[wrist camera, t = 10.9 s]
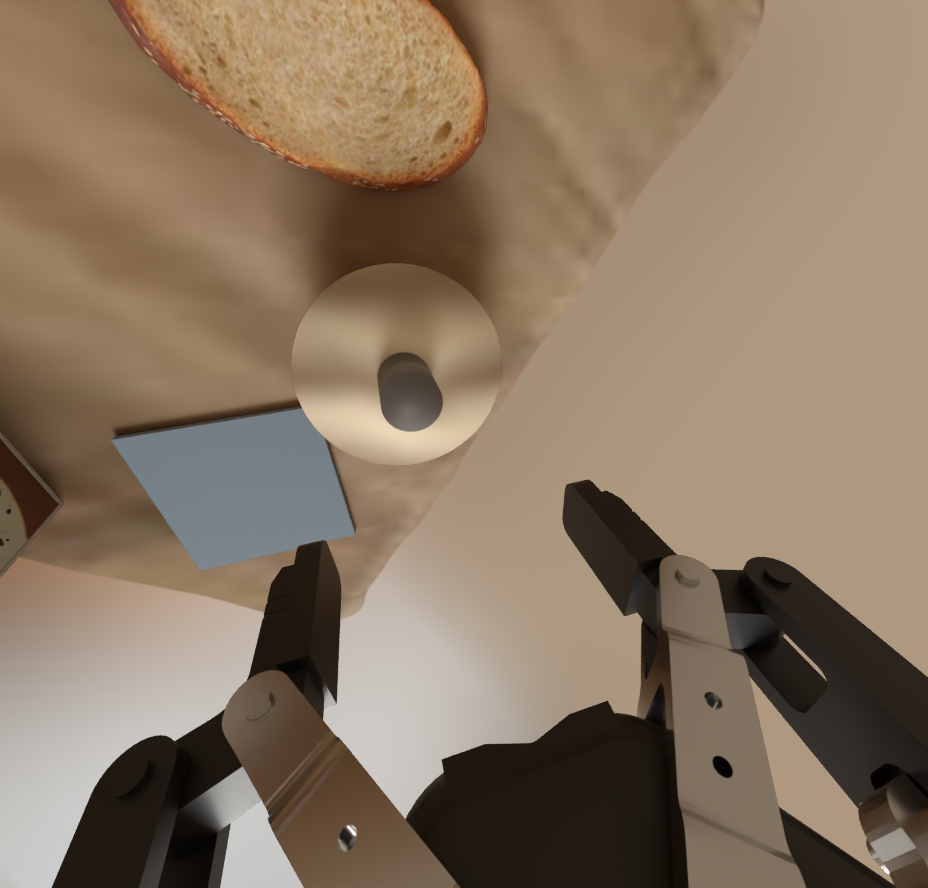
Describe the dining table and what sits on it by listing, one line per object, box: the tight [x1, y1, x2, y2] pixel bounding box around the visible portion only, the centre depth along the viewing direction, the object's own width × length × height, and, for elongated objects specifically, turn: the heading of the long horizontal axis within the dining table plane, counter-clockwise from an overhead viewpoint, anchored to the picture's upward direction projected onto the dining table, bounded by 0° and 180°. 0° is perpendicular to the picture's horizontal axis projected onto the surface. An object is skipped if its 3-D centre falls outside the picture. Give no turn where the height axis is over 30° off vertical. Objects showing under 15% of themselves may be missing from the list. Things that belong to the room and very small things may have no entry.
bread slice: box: [108, 0, 488, 191], centre depth 19 cm, size 18×18×4 cm
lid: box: [292, 263, 502, 465], centre depth 23 cm, size 14×14×5 cm
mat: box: [111, 406, 356, 571], centre depth 33 cm, size 15×15×1 cm
